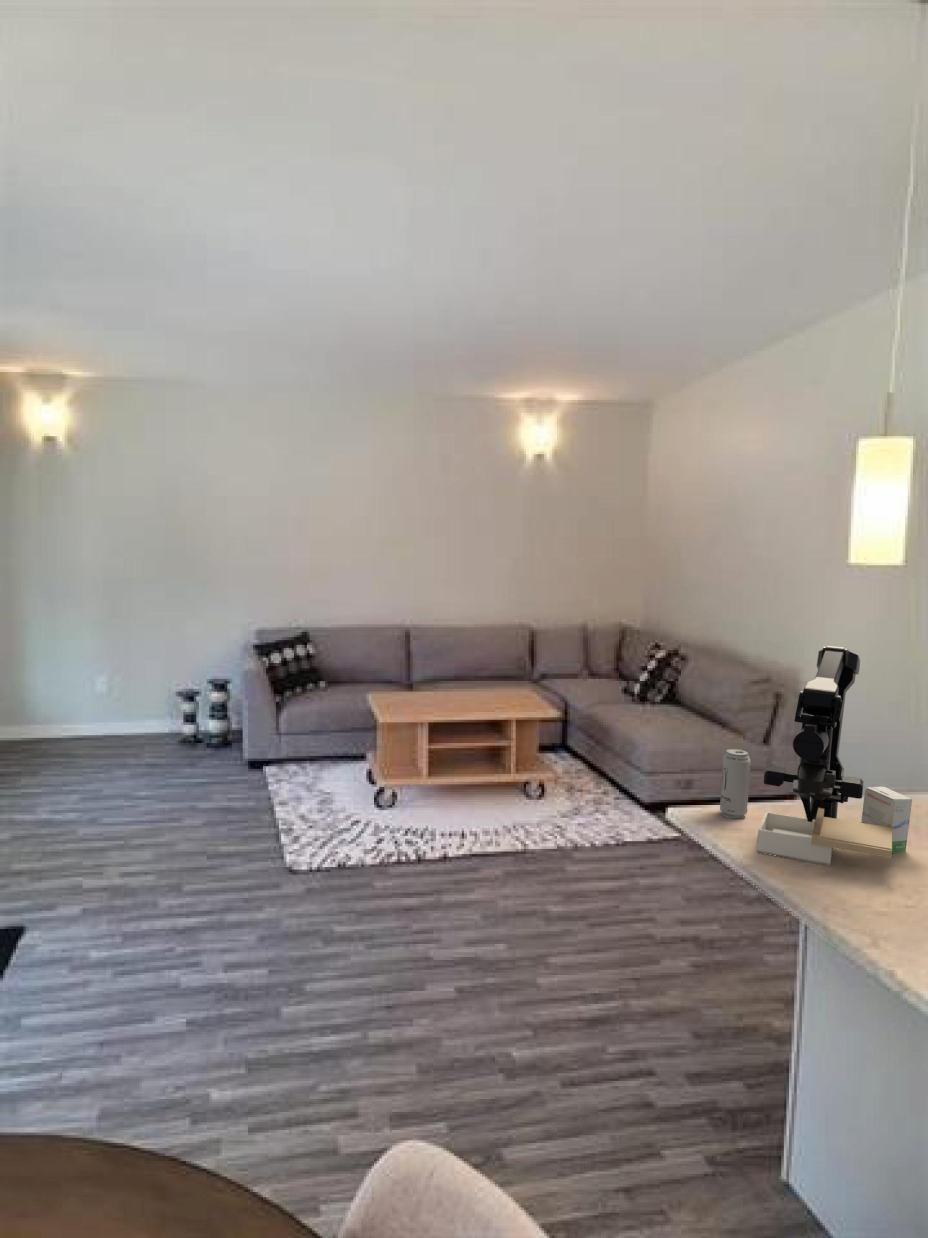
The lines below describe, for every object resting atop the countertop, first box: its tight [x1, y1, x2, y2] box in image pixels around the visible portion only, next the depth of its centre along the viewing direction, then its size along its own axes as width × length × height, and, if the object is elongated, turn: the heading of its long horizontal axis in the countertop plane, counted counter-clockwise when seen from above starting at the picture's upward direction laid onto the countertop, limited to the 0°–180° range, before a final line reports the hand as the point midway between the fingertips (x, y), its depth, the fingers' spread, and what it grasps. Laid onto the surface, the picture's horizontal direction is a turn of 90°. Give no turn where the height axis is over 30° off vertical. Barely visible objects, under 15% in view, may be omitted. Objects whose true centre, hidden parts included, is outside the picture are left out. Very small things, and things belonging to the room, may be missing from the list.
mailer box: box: [756, 811, 834, 867], centre depth 183 cm, size 12×14×5 cm
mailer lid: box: [811, 808, 893, 859], centre depth 178 cm, size 14×14×4 cm
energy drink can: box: [719, 748, 752, 819], centre depth 202 cm, size 6×6×15 cm
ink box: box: [860, 786, 913, 854], centre depth 186 cm, size 9×5×12 cm, turn 17°
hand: (809, 821), depth 181 cm, fingers closed
